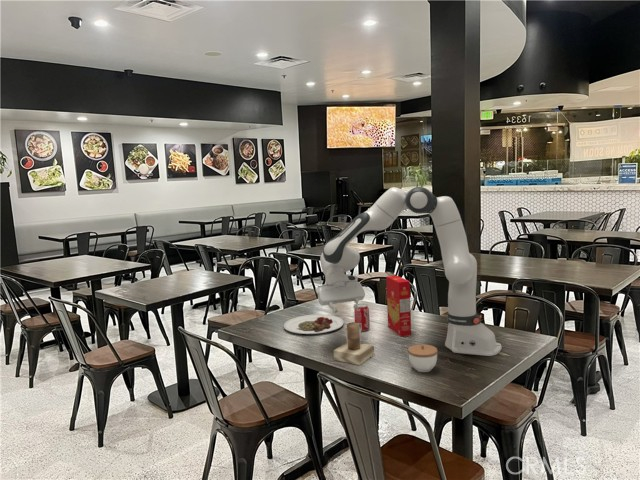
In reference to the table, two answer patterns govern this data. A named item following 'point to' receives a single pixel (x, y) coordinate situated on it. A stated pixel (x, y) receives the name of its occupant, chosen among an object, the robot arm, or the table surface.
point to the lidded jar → (423, 357)
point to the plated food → (313, 324)
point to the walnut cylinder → (353, 336)
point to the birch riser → (354, 354)
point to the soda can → (362, 317)
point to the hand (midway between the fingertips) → (346, 310)
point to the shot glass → (359, 332)
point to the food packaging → (398, 305)
